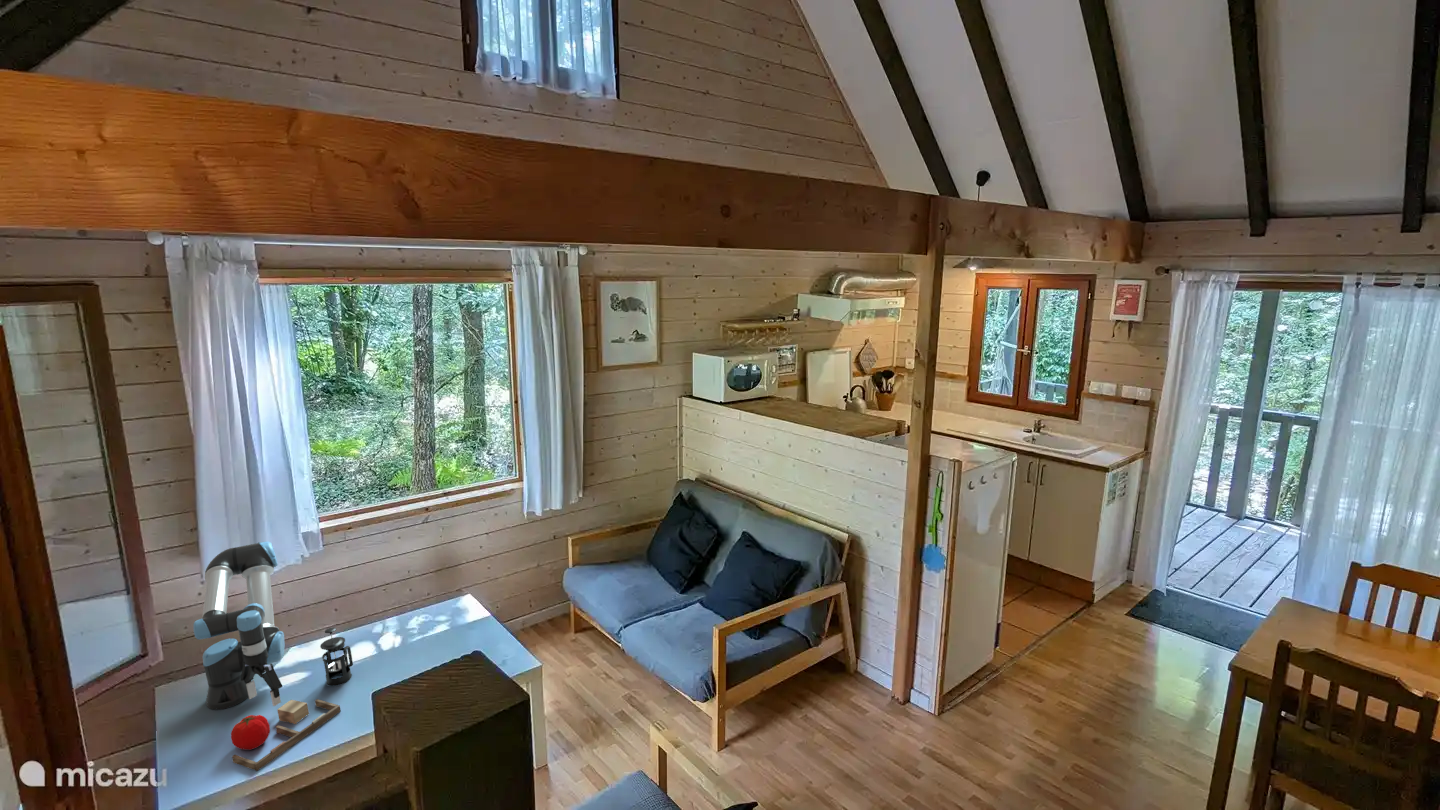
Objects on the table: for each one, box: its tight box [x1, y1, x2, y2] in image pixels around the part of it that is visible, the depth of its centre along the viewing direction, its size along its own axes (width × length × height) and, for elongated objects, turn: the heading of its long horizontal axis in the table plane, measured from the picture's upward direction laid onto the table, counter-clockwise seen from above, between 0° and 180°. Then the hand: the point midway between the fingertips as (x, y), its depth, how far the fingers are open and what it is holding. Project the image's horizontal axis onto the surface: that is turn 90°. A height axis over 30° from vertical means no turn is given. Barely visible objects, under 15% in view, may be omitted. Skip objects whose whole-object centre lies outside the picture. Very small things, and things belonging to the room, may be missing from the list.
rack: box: [231, 698, 342, 772], centre depth 250 cm, size 12×33×3 cm, turn 159°
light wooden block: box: [276, 699, 310, 725], centre depth 260 cm, size 8×6×5 cm
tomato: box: [230, 714, 271, 751], centre depth 245 cm, size 12×12×11 cm
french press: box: [319, 626, 354, 687], centre depth 281 cm, size 12×9×23 cm
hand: (265, 700), depth 265 cm, fingers open, 13 cm apart
